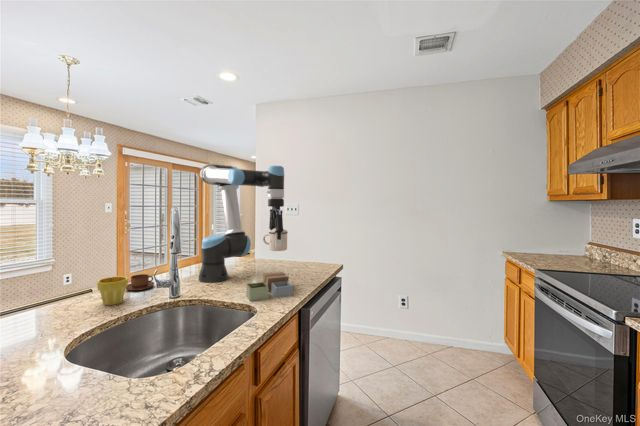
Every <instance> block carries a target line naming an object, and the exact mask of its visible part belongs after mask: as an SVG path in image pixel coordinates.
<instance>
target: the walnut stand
mask: <svg viewBox="0 0 640 426" xmlns="http://www.w3.org/2000/svg"><path fill="white" fill-rule="evenodd" d="M285 281H288V282H290V281H289V276H288V275H287V273H284V272H283V271H280V272H279V271H278V272H269V273H262V282H265V283H266V285H267V286H268V293H271V283H275V282H285Z"/></svg>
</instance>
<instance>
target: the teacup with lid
mask: <svg viewBox="0 0 640 426" xmlns="http://www.w3.org/2000/svg"><path fill="white" fill-rule="evenodd" d="M275 231H276V228H274V229H273V230H270V229H269V231H268V234H264V235H263V237H262V241H263V242H264V245H265V244H266V245H269V247H268V250H269V251H272V252H282V251H283V252H284V251H286V250H288V233H289V232H288V230H286V229H284V228H283V232H282V246H279V247H276V246H275V240H276V233H275ZM266 237H268V239H269V240H268V242H267V240H266V239H265V238H266Z"/></svg>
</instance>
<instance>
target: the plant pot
mask: <svg viewBox="0 0 640 426" xmlns="http://www.w3.org/2000/svg"><path fill="white" fill-rule="evenodd" d="M128 279H129V278H128V277H127V276H121V275H120V276H119V275H118V276H109V277H104V278H101V279H98V281H97V285H96V286H97V290H98V291H99V293H100V297H101V300H102V305H105V306H114V305H117V304H120V303H121V304H122V303H123V299H124V297H125V292H126V287H127V285H128V284H129V280H128Z"/></svg>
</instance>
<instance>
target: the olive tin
mask: <svg viewBox="0 0 640 426" xmlns="http://www.w3.org/2000/svg"><path fill="white" fill-rule="evenodd" d="M246 298H247V299H248V301H249V302H250V303H251V302H257V301H266V300H267V301H268V300H269V292H268V286H267V285H266V283H265V282H263V281H262V282H261V281H260V282H250V283H246Z"/></svg>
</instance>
